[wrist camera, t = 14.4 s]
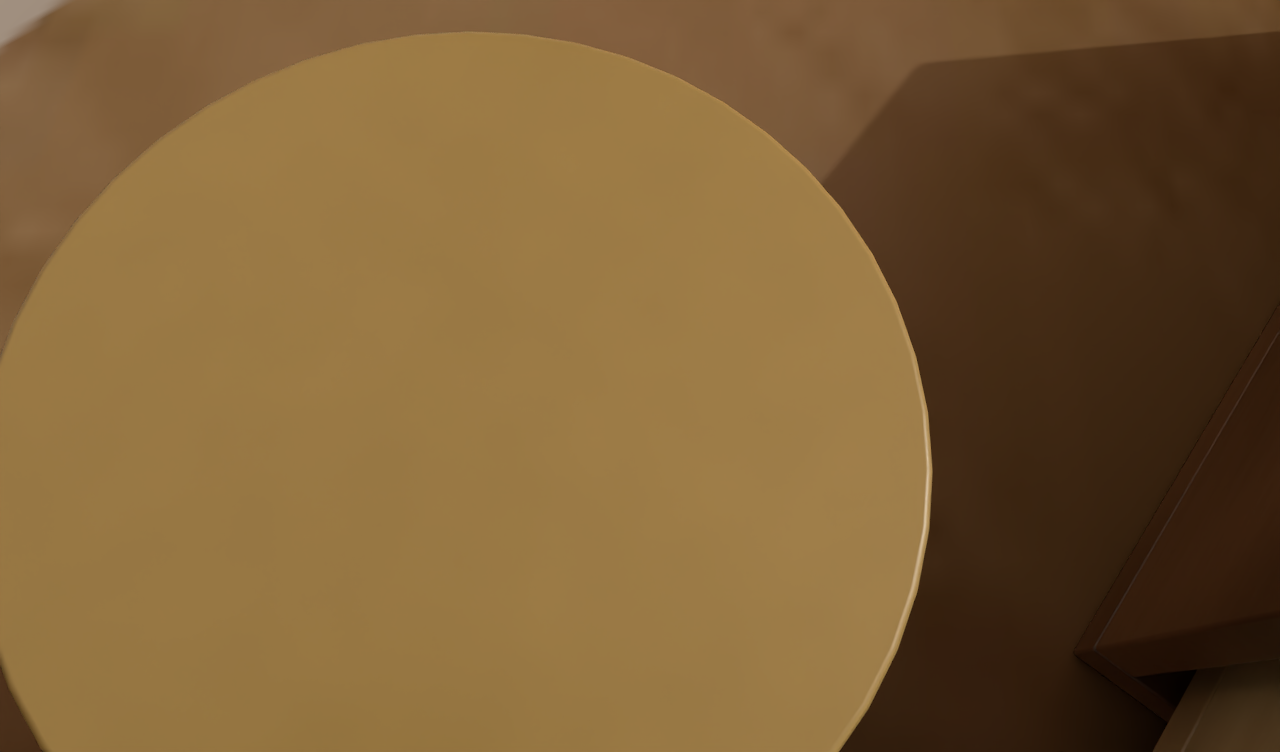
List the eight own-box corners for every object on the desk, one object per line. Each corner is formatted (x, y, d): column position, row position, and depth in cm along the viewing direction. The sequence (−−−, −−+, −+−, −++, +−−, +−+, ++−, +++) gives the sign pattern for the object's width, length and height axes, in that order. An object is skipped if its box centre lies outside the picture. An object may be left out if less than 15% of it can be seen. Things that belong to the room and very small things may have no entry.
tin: (604, 876, 15) (679, 1184, 4) (311, 710, 15) (-258, 627, 5) (750, 571, 16) (1064, 255, 6) (479, 430, 17) (324, -95, 6)
